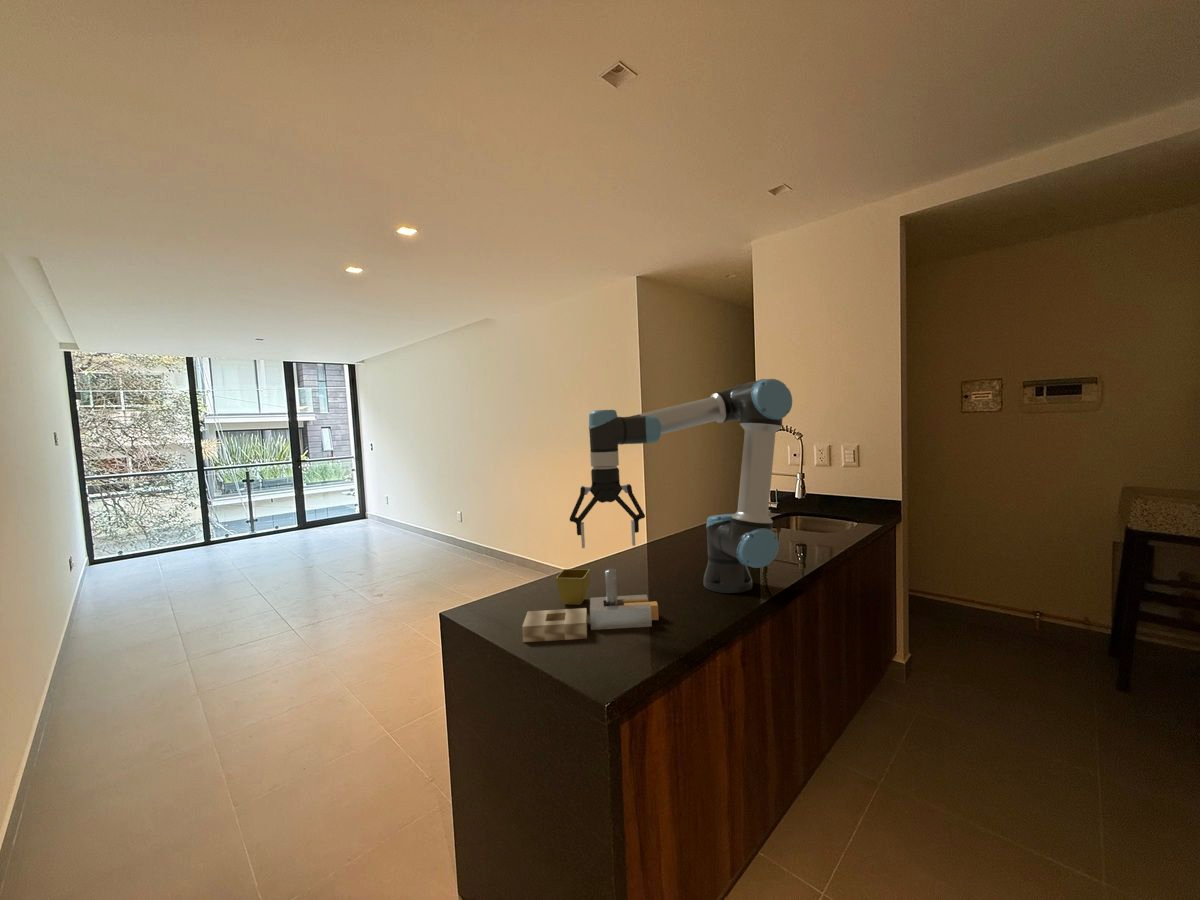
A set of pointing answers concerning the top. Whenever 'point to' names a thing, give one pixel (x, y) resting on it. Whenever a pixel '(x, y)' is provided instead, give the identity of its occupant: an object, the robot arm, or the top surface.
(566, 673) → the top surface
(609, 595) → the drill peg
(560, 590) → the flower pot
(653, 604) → the drift key
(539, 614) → the rack block
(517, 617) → the top surface
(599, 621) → the socket block
